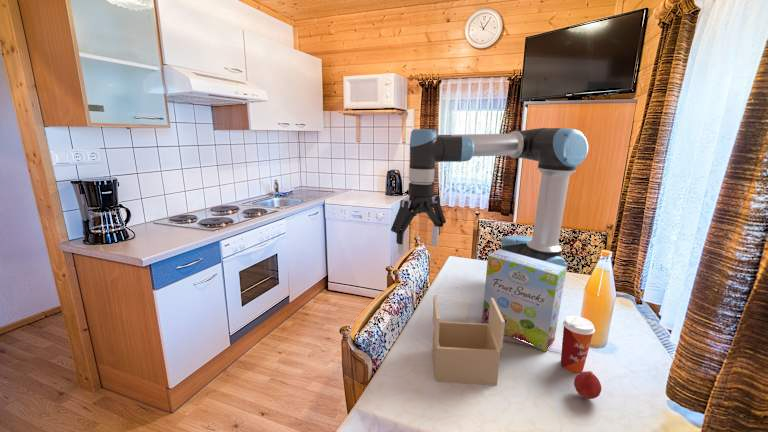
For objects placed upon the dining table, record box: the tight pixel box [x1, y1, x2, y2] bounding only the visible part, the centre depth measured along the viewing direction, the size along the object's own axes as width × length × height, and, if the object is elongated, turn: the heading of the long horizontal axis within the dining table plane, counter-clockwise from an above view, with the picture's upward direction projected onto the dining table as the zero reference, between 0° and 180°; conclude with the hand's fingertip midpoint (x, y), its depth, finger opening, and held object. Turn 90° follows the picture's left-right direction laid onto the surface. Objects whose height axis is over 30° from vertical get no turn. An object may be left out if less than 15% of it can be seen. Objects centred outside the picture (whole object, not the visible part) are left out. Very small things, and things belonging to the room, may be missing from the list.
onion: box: [573, 370, 602, 400], centre depth 86 cm, size 6×6×8 cm
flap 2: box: [488, 298, 505, 350], centre depth 93 cm, size 8×12×1 cm
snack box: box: [481, 248, 568, 353], centre depth 110 cm, size 22×9×26 cm, turn 47°
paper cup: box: [560, 315, 596, 374], centre depth 96 cm, size 8×8×14 cm
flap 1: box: [432, 294, 441, 345], centre depth 94 cm, size 8×12×1 cm
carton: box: [431, 320, 501, 386], centre depth 96 cm, size 16×13×10 cm
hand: (418, 249), depth 109 cm, fingers open, 13 cm apart
